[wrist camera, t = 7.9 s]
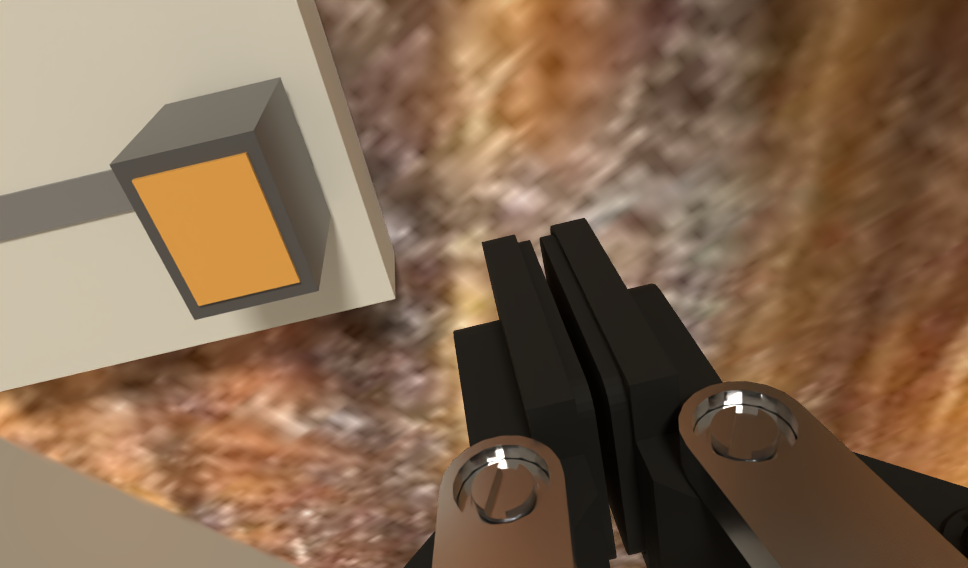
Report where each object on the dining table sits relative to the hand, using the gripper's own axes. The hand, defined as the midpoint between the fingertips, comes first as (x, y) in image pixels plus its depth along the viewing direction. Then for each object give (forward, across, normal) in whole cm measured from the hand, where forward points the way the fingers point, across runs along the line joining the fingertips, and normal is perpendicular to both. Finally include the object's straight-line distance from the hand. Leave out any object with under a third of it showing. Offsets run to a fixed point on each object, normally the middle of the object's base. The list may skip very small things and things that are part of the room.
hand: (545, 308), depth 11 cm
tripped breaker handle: (+9, +6, -1) cm, 11 cm away
